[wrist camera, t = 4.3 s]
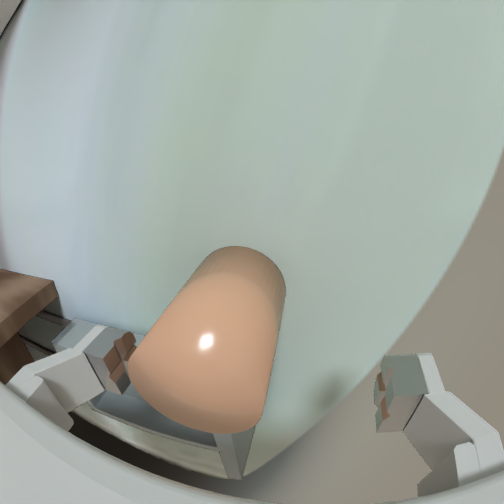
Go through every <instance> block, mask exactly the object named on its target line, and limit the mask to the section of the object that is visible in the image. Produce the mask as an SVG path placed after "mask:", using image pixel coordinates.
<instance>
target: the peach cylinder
mask: <svg viewBox="0 0 504 504" xmlns="http://www.w3.org/2000/svg"><path fill="white" fill-rule="evenodd" d="M285 296H286V286H285V281H284V278H283V276H282V274H281V272H280V270H279V269H278V267H277V266H276V265H275V264H274V263H273V261H271V260H270V259H269V258H268V257H267V256H265V255H264V254H262V253H260V252H258V251H256V250H253V249H250V248H246V247H240V246H230V247H224V248H221V249H218V250H216V251H214V252H212V253H211V254H209V255H208V256H207V257H206V258H205V259H204V260H203V262H202V263H201V264H200V265H199V267H198V268H197V269H196V270H195V272H194V273H193V274H192V276H191V277H190V278H189V279H188V281H187V282H186V283H185V285H184V286H183V287H182V288H181V290H180V291H179V292H178V294H177V295H176V296H175V298H174V299H173V300H172V301H171V303H170V304H169V305H168V307H167V308H166V309H165V311H164V312H163V313H162V315H161V316H160V317H159V319H158V320H157V321H156V323H155V324H154V325H153V327H152V328H151V329H150V331H149V332H148V333H147V335H146V336H145V337H144V339H143V340H142V341H141V343H140V344H139V345H138V347H137V348H136V349H135V351H134V352H133V354H132V355H131V356H130V358H129V361H128V366H127V367H128V374H129V378H130V380H131V382H132V384H133V386H134V388H135V389H136V390H137V392H138V393H139V394H140V395H141V397H142V398H143V399H144V400H145V401H146V402H147V403H148V404H149V405H151V406H152V407H153V408H154V409H156V410H157V411H158V412H160V413H161V414H163V415H164V416H166V417H168V418H169V419H171V420H173V421H175V422H177V423H179V424H182V425H184V426H187V427H190V428H193V429H196V430H200V431H204V432H209V433H217V434H231V433H238V432H242V431H245V430H248V429H250V428H252V427H253V426H255V425H256V424H257V423H258V422H259V420H260V419H261V416H262V413H263V408H264V404H265V399H266V395H267V390H268V385H269V380H270V376H271V371H272V366H273V361H274V356H275V351H276V345H277V340H278V335H279V330H280V324H281V319H282V313H283V308H284V302H285Z"/></svg>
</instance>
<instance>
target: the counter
mask: <svg viewBox="0 0 504 504" xmlns="http://www.w3.org/2000/svg"><path fill="white" fill-rule="evenodd" d="M57 297H58V294H57V291H56V288H55V285H54V282H53V281H52V280H47V279H42V278H38V277H33V276H29V275H24V274H20V273H16V272H11V271H7V270H3V269H0V381H1V382H2V383H3V384H4V385H6V384H7V383H8V382H9V381H10V380H11V379H12V378H13V377H14V376H15V374H16V373H17V372H18V371H19V370H20V369H21V368H22V367H23V366H25V365H28V364H30V363H33V362H34V360H33V358H32V357H31V355H30V353H29V351H28V350H27V348H26V346H25V344H27V345H29V346H31V347H33V348H35V349H37V350H39V351H41V352H43V353H44V354H46V355H49V356H51V355H53V354H55V353H53V352H51V351H49V350H47V349H45V348H43V347H41V346H39V345H37V344H35V343H33V342H31V341H29V340H27V339H25V338H23V337H21V336H20V335H19V333H18V331H19V330H20V329H21V328H22V327H23V326H24V325H25V324H26V323H28V322H29V321H30V320H31V319H32V318H33V317H34V316H38V317H40V318H43V319H45V320H48V321H51V322H54V323H56V324H59V325H62V326H65V327H66V326H67V325H69V324H70V323H71V322H72V321H70V320H67V319H64V318H61V317H58V316H55V315H52V314H49V313H46V312H43V311H41V310H42V309H44V308H45V307H46V306H47V305H48V304H50V303H51V302H52V301H53V300H54V299H55V298H57ZM24 343H25V344H24Z"/></svg>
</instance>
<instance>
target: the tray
mask: <svg viewBox="0 0 504 504" xmlns="http://www.w3.org/2000/svg"><path fill="white" fill-rule="evenodd" d="M96 325H99V324H95V323H91V322H87V321H84V320H80V319H77V318H75V319H74V320H73V321H72V322H71V323H70V324H69V325H67V326H66V327H65V328H64V329H63V330H62V331H61V332H60V333H59V334H58V335H57V336H56V337H55V338H54V339H53V340H52V341H51V342H52V344H53V346H54V348H55V350H56V352H57V353H58V352H61V351H63V350H66V349H68V348H72V349H73V348H74V347H75V346H76V345H77V344H78V343H79V342H80V341H81V340H82V339H83V338H84V337H85V336H86V335H87V334H88V333H89V332H90V331H91V330H92V329H93V328H94V327H95V326H96ZM133 334H134V337H135V339H136V343H135V346H136V347H138V345H139V344H140V343H141V341H142V340H143V339H144V337H145V335H140V334H135V333H133ZM104 390H105V389H104ZM87 403H88V404H89V406H90V407H91V408H92V410H94V411H96V412H99V413H101V414H103V415H105V416H108V417H110V418H112V419H115V420H117V421H120V422H122V423H125V424H127V425H130V426H133V427H135V428H138V429H141V430H144V431H146V432H149V433H152V434H155V435H158V436H162V437H165V438H168V439H171V440H175V441H178V442H182V443H186V444H189V445H193V446H197V447H202V448H206V449H210V450H215V451H219V453H220V456H221V459H222V462H223V465H224V468H225V471H226V473H227V476H228V478H232V479H237V480H241V479H242V477H243V473H244V469H245V465H246V461H247V458H248V454H249V450H250V446H251V442H252V438H253V434H254V430H255V426H256V425H255V426H253V427H252V428H250V429H248V430H245V431H242V432H238V433H231V434H217V433H209V432H204V431H200V430H196V429H193V428H190V427H187V426H184V425H182V424H179V423H177V422H175V421H173V420H171V419H169V418H168V417H166V416H164V415H163V414H161V413H160V412H158V411H157V410H156V409H154V408H153V407H152V406H151V405H149V404H148V403H147V402H146V401H145V400H144V399H143V398H142V397H141V395H140V394H139V393H138V392H137V390H136V389H135V388H134V386H133V384H132V382H131V384H130V385H129V387H128V388H127V389H126V391H125V392H124V394H123V395H119V394H116V393H113V392H111V391H108V390H105V391H103V392H101V393H100V394H98V395H97V396H95V397H93V398H92V399H90V400H88V401H87Z"/></svg>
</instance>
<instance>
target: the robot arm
mask: <svg viewBox="0 0 504 504" xmlns="http://www.w3.org/2000/svg"><path fill="white" fill-rule="evenodd" d="M20 1H21V0H0V35H1V34H2V32H3V30H4V28H5V26H6V25H7V23H8V21H9V20H10V18H11V16H12V15H13V13H14V11H15V10H16V8H17V6H18V5H19V3H20ZM135 343H136V339H135V337H134V334H133V333H131V332H128V331H124V330H120V329H116V328H113V327H108V326H104V325H101V324H100V325H96V326H95V327H94V328H93V329H92V330H91V331H90V332H89V333H88V334H87V335H86V336H85V337H84V338H83V339H82V340H81V341H80V342H79V343H78V344H77V345H76V346H75V347H74V348H73V349H72V348H68V349H66V350H63V351H61V352H58V353H56V354H53V355H51V356H48V357H46V358H43V359H40V360H38V361H35V362H33V363H30V364H28V365H25V366H23V367H22V368H21V369H20V370H19V371H18V372H17V373H16V374H15V376H14V377H13V378H12V379H11V380H10V381H9V382H8V383H7V384H6V385H4V384H3V383H2V382H1V381H0V504H281V503H272V502H264V501H257V500H250V499H244V498H239V497H234V496H229V495H224V494H220V493H215V492H211V491H207V490H203V489H200V488H196V487H192V486H188V485H186V484H182V483H179V482H176V481H173V480H170V479H167V478H164V477H161V476H159V475H156V474H153V473H151V472H148V471H145V470H143V469H140V468H138V467H136V466H133V465H131V464H129V463H126V462H124V461H122V460H120V459H118V458H115V457H113V456H111V455H109V454H107V453H105V452H103V451H101V450H99V449H98V448H96V447H94V446H92V445H90V444H88V443H86V442H85V441H83V440H81V439H79V438H78V437H76V436H74V435H73V434H71V433H69V432H68V431H69V429H70V428H71V427H72V425H73V424H74V422H73V419H72V418H71V417H70V416H69V414H68V412H70V411H72V410H73V409H75V408H77V407H78V406H80V405H82V404H83V403H85V402H87V401H88V400H90V399H92V398H93V397H95V396H97V395H98V394H100V393H101V392H103V391H105V390H108V391H111V392H113V393H116V394H119V395H123V394H124V392H125V391H126V389H127V388H128V387H129V385H130V384H131V380H130V378H129V374H128V367H127V366H128V361H129V358H130V356H131V355H132V354H133V352H134V351H135V349H136V348H137V347H136V346H135ZM380 366H381V372H380V373H379V374H378V375H377V377H376V381H375V386H374V404H375V405H376V406H377V407H378V410H377V412H376V415H375V418H376V428H377V429H376V430H377V433H378V432H396V431H403V433H404V435H405V436H406V437H407V439H408V440H409V441H410V443H411V444H412V445H413V447H414V448H415V449H416V451H417V452H418V453H419V454H420V456H421V457H422V458H423V459H424V461H425V462H426V464H427V465H428V466H429V467H430V469H431V470H432V471H431V472H430V473H429V474H428V475H427V476H426V477H424V478H423V479H422V480H421V481H420V482H419V483H418V484H417V487H418V488H417V489H418V497H416V498H410V499H405V500H399V501H392V502H384V503H375V504H504V450H503V447H502V443H501V440H500V436H499V433H498V431H496V430H495V429H494V428H493V427H492V426H490V425H489V424H488V423H487V422H486V421H485V420H483V419H482V418H481V417H480V416H479V415H477V414H476V413H475V412H474V411H472V410H471V409H470V408H469V407H467V405H465V404H464V403H463V402H461V401H460V400H459V399H458V398H457V397H456V396H454V395H453V394H452V393H451V392H445V390H444V387H443V384H442V381H441V378H440V375H439V372H438V369H437V367H436V364H435V361H434V359H433V356H432V354H430V353H421V354H408V355H389V356H388V355H387V356H384V357H383V359H382V361H381V365H380ZM104 389H105V390H104Z"/></svg>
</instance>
